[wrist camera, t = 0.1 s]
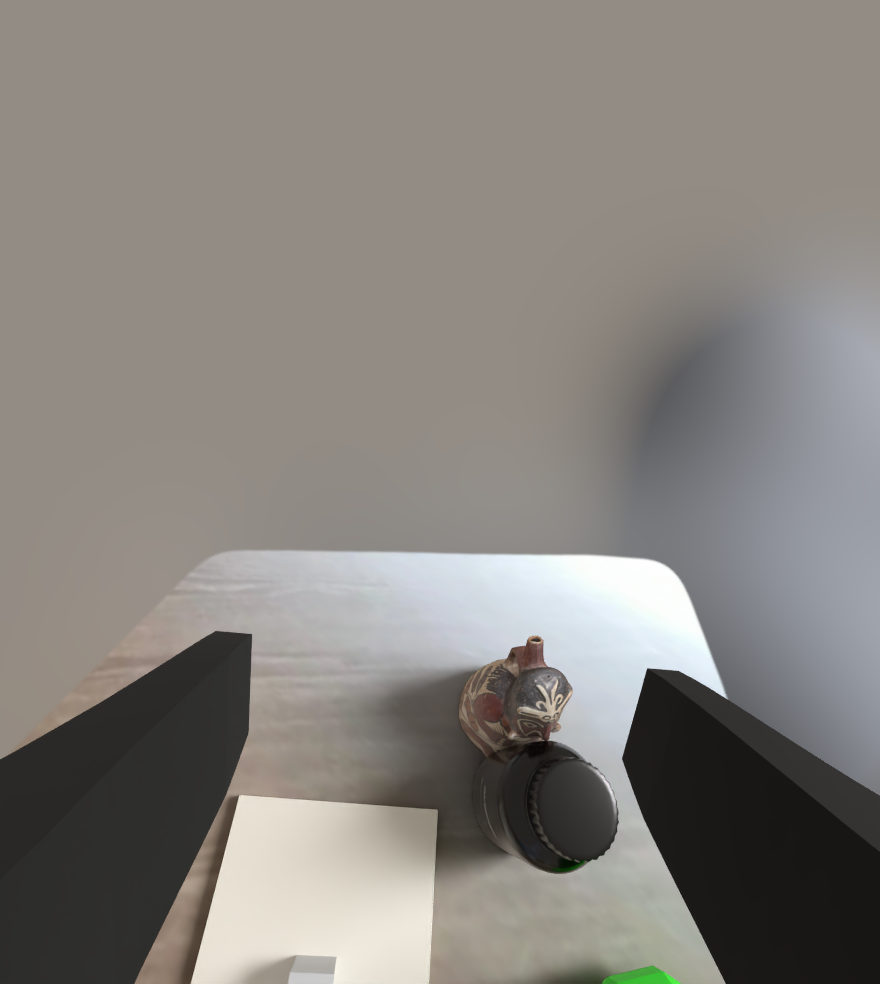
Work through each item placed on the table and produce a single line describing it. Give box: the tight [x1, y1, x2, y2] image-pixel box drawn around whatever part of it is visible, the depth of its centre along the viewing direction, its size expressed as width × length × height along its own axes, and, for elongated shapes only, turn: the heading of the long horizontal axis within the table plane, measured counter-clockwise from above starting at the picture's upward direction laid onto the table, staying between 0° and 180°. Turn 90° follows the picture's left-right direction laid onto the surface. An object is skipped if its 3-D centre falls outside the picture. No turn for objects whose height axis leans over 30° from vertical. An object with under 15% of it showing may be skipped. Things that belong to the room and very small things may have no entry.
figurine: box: [459, 636, 573, 757], centre depth 33 cm, size 7×7×12 cm
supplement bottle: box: [472, 741, 619, 874], centre depth 30 cm, size 7×7×12 cm
